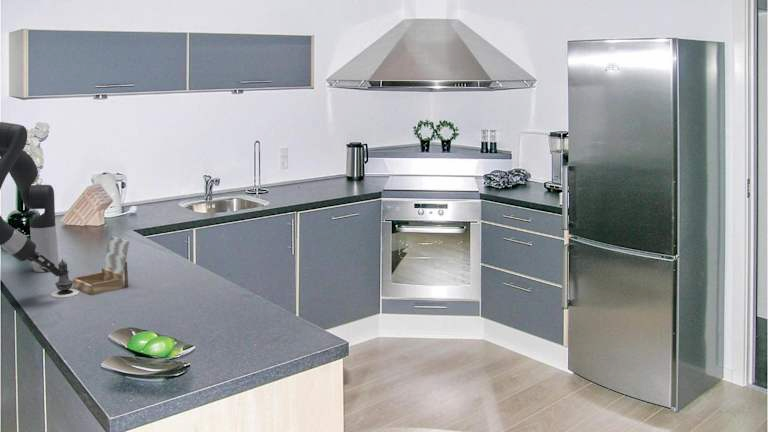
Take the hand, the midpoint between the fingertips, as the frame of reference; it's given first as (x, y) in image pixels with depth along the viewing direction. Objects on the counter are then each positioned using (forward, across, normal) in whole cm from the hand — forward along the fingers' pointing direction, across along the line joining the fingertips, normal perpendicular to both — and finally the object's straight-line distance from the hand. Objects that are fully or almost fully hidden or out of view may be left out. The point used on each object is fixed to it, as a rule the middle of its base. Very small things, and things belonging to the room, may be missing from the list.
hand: (54, 272), depth 282 cm
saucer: (+8, 0, +4) cm, 9 cm away
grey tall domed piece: (+8, 0, +3) cm, 9 cm away
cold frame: (+18, 0, -6) cm, 19 cm away
